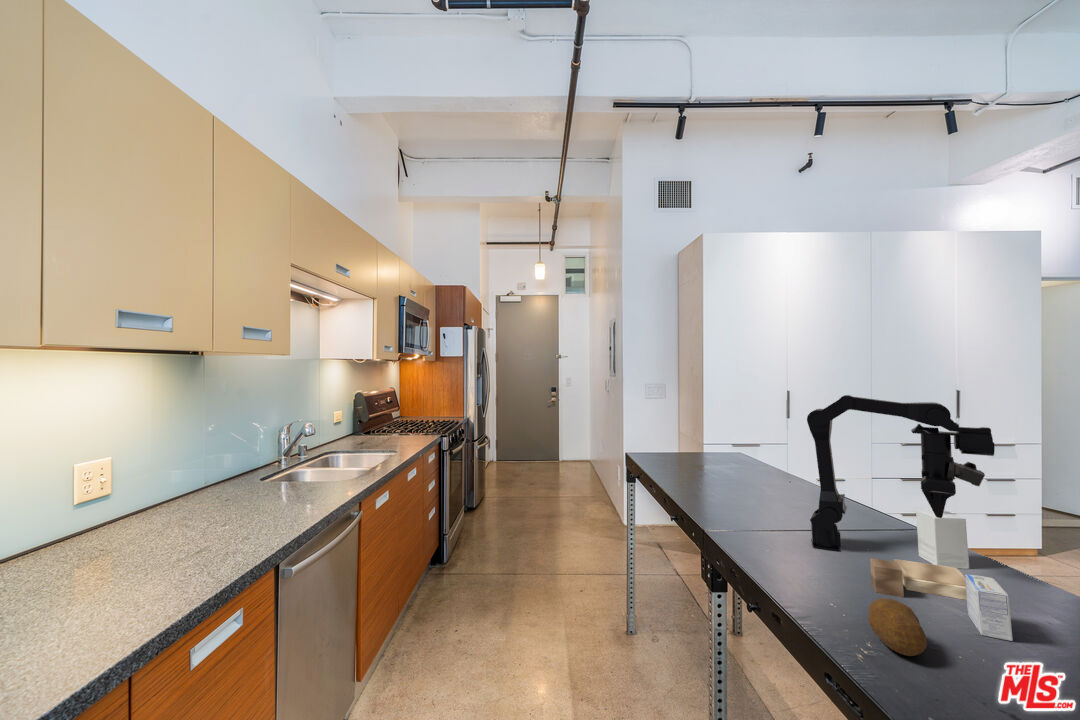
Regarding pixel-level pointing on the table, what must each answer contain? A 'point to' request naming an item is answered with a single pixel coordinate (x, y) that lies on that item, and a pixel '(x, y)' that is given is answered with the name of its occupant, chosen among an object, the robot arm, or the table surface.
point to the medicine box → (988, 607)
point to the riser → (933, 579)
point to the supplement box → (942, 539)
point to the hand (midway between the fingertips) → (938, 512)
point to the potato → (897, 626)
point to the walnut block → (886, 577)
